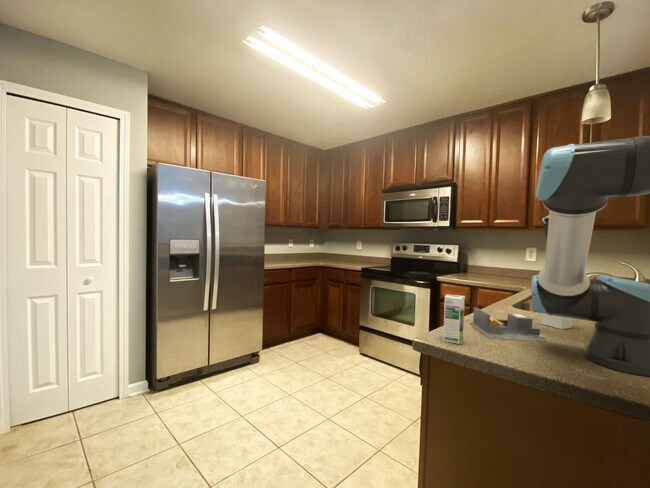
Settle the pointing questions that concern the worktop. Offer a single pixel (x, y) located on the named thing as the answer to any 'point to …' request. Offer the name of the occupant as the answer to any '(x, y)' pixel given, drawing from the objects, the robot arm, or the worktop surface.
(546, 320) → the milk carton
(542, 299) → the robot arm
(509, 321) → the grey block
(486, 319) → the gauge bed
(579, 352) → the worktop surface
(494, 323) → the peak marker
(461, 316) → the syrup box
